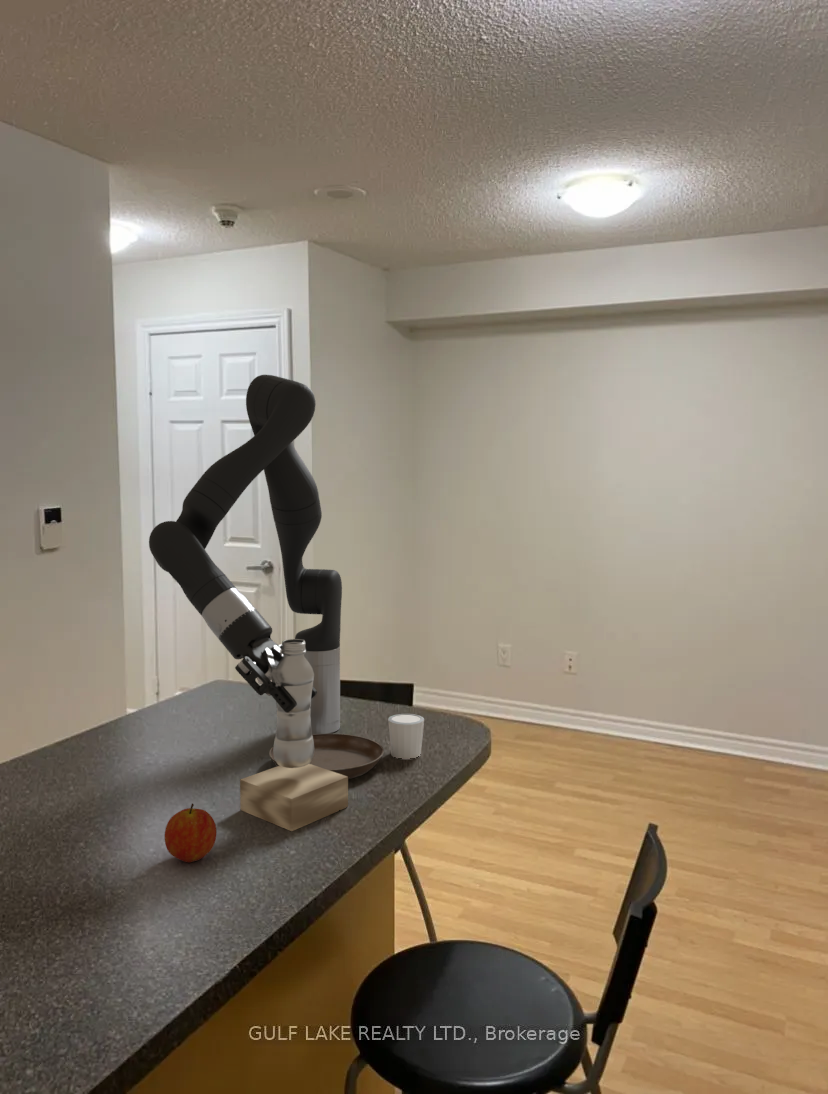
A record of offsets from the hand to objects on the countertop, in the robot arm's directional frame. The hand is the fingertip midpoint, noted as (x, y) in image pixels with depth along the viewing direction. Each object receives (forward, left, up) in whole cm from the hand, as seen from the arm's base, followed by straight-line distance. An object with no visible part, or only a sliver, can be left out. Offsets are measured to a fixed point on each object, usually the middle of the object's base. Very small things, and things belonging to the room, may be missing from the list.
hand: (302, 702), depth 132 cm
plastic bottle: (-2, -1, -11) cm, 11 cm away
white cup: (-4, +30, -18) cm, 35 cm away
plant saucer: (-11, +16, -18) cm, 27 cm away
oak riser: (-1, -1, -17) cm, 17 cm away
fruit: (+1, -22, -18) cm, 28 cm away
